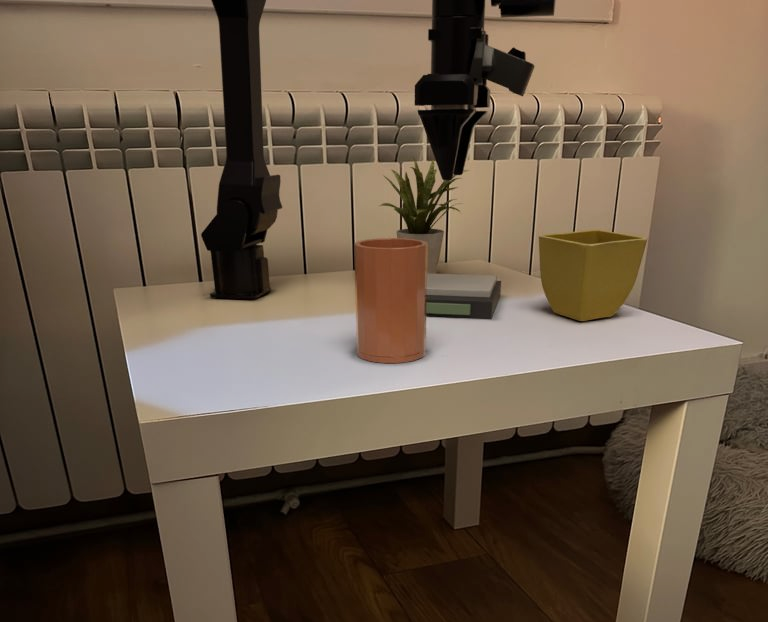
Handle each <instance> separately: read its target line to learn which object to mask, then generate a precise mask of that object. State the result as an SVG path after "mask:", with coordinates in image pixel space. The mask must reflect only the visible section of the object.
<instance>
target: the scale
mask: <svg viewBox="0 0 768 622" xmlns="http://www.w3.org/2000/svg"><path fill="white" fill-rule="evenodd" d="M501 290H502V280H498V275H493V274H491V275H488V274H487V275H486V274H459V273H437V274H432V273H427V314H426V317H438V318H439V317H440V318H460V319H461V318H462V319H483V320H484V319H485V320H486V319H487V320H491V319H492V318H493V315H494V313H495V310H496V308H497V306H498V303H499V300H500V298H501Z"/></svg>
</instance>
